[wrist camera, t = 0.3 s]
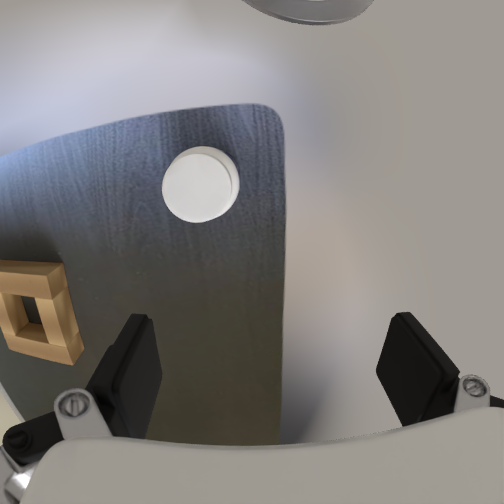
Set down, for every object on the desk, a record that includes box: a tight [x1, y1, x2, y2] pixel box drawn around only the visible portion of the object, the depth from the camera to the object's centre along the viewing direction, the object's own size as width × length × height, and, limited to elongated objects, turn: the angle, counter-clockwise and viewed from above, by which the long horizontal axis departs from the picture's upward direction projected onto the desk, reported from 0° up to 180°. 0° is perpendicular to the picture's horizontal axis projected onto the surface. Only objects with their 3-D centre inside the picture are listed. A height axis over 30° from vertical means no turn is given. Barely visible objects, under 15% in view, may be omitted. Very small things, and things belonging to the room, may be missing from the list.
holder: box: [0, 260, 84, 365], centre depth 31 cm, size 13×13×4 cm
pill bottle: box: [162, 146, 240, 223], centre depth 24 cm, size 6×6×10 cm
